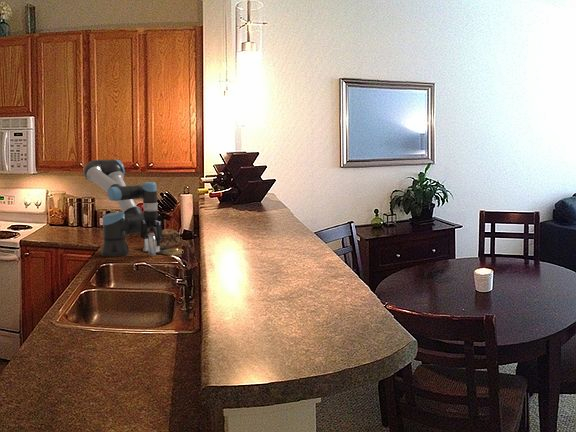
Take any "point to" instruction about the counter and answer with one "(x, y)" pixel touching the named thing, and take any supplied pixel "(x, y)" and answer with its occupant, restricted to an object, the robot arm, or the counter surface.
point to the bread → (169, 238)
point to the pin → (151, 244)
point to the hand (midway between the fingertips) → (152, 251)
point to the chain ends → (168, 251)
